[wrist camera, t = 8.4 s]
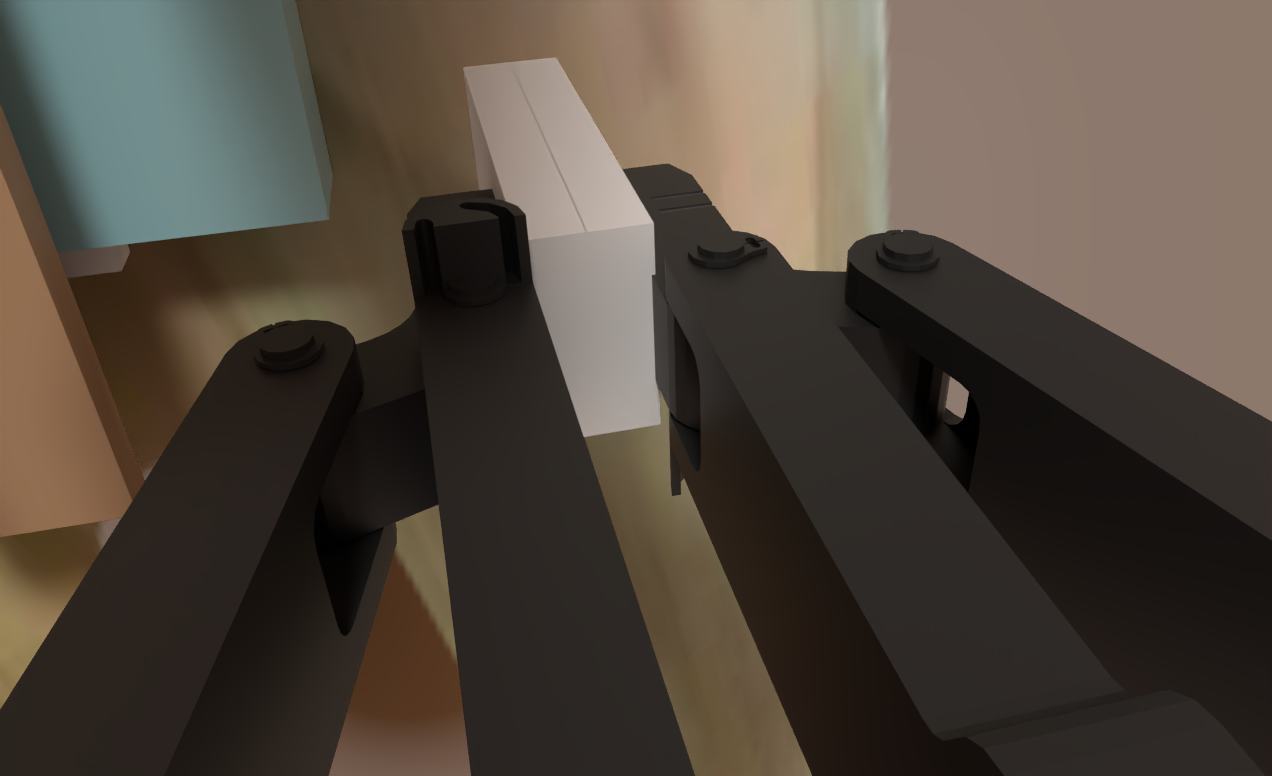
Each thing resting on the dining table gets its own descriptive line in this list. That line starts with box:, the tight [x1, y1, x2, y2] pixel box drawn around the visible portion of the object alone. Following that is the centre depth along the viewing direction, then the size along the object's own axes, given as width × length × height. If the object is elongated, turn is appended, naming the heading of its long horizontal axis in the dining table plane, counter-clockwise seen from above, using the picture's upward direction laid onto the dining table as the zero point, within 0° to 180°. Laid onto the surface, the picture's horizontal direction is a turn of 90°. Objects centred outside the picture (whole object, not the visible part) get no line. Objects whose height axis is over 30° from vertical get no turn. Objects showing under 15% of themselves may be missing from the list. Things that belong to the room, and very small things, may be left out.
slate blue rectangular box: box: [0, 0, 333, 253], centre depth 24 cm, size 11×8×3 cm
